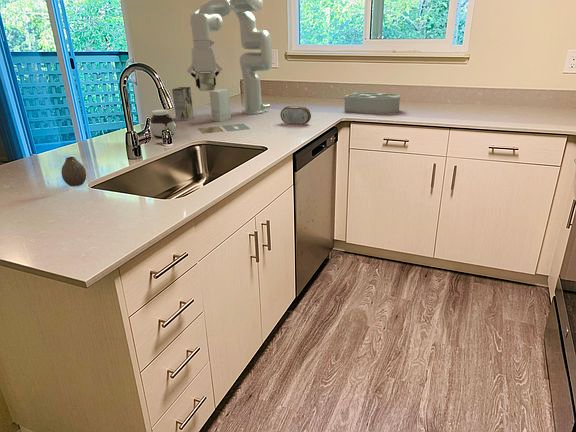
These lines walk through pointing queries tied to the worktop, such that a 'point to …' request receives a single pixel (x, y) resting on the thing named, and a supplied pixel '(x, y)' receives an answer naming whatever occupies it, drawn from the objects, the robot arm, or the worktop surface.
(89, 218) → the worktop surface
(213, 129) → the pad
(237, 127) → the plate
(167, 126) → the spread jar
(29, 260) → the worktop surface
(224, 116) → the skincare box
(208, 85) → the sage block
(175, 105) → the coffee box
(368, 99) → the compartment organizer box
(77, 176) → the vase
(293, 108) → the tin
